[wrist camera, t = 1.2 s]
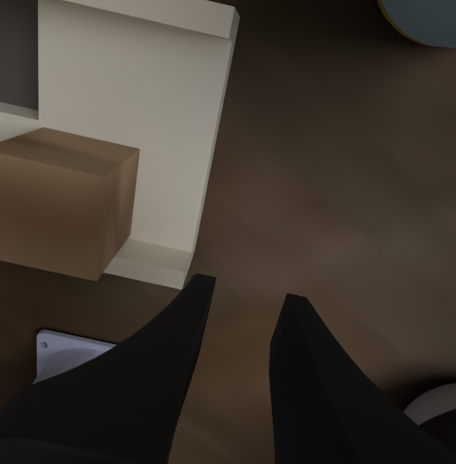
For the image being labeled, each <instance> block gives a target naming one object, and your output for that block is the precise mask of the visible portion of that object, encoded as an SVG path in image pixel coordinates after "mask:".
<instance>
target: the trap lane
mask: <svg viewBox="0 0 456 464" xmlns="http://www.w3.org/2000/svg"><path fill="white" fill-rule="evenodd" d="M239 20H240V16H239V14H238V12H237V10H236V9H235V7H233V6H229V5H224V4H220V3H216V2H212V1H207V0H0V142H1V141H4V140H7V139H10V138H13V137H16V136H19V135H22V134H25V133H28V132H31V131H34V130H37V129H40V128H43V127H46V128H50V129H54V130H59V131H63V132H68V133H72V134H76V135H81V136H85V137H90V138H94V139H99V140H103V141H107V142H112V143H116V144H121V145H125V146H129V147H134V148H138V149H140V153H139V162H138V171H137V180H136V189H135V199H134V208H133V217H132V226H131V235H130V236H129V237H128V239H127V240H126V241H125V243H124V244H123V246H122V247H121V248H120V250H119V251H118V252H117V254H116V255H115V257H114V258H113V259H112V261H111V262H110V264H109V265H108V266H107V268H106V269H105V270H104V273H108V274H113V275H117V276H122V277H126V278H131V279H135V280H140V281H144V282H149V283H154V284H158V285H163V286H167V287H172V288H176V289H181V290H182V287H183V284H184V281H185V278H186V275H187V272H188V269H189V266H190V263H191V260H192V257H193V254H194V251H195V246H196V241H197V236H198V231H199V225H200V220H201V215H202V210H203V205H204V200H205V195H206V190H207V184H208V179H209V174H210V169H211V164H212V159H213V154H214V149H215V143H216V138H217V133H218V128H219V123H220V118H221V113H222V108H223V102H224V97H225V92H226V87H227V82H228V77H229V72H230V66H231V61H232V56H233V51H234V46H235V41H236V36H237V31H238V25H239Z"/></svg>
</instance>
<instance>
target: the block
mask: <svg viewBox="0 0 456 464" xmlns="http://www.w3.org/2000/svg"><path fill="white" fill-rule="evenodd" d="M139 153H140V149H138V148H134V147H129V146H125V145H121V144H116V143H112V142H107V141H103V140H99V139H94V138H90V137H85V136H81V135H76V134H72V133H68V132H63V131H59V130H54V129H50V128H46V127H43V128H40V129H37V130H34V131H31V132H28V133H25V134H22V135H19V136H16V137H13V138H10V139H7V140H4V141H1V142H0V260H1V261H5V262H10V263H14V264H19V265H24V266H28V267H33V268H37V269H42V270H46V271H51V272H55V273H60V274H65V275H69V276H74V277H78V278H83V279H87V280H92V281H97V280H98V279H99V277H100V276H101V275H102V273H103V272H104V270H105V269H106V268H107V266H108V265H109V264H110V262H111V261H112V259H113V258H114V257H115V255H116V254H117V252H118V251H119V250H120V248H121V247H122V246H123V244H124V243H125V241H126V240H127V239H128V237H129V236H130V235H131V226H132V217H133V208H134V199H135V189H136V180H137V171H138V162H139Z"/></svg>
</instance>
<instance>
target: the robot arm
mask: <svg viewBox="0 0 456 464" xmlns="http://www.w3.org/2000/svg"><path fill="white" fill-rule="evenodd" d="M215 281H216V277H212V276H207V275H203V274H198V273H197V274H195V275H193V276H192V278H191V280H190V281H189V282H188V284H187V285H186V286H185V288H184V289H183V290H182V291H181V292H180V293H179V294H178V296H177V297H176V298H175V299H174V300H173V301H172V302H171V303H170V304H169V305H168V306H167V307H166V308H165V309H164V310H162V311H161V312H160V313H159V314H158V315H157V316H156V317H155V318H153V319H152V320H151V321H150V322H149V323H147V324H146V325H145V326H144V327H142V328H141V329H140V330H138V331H137V332H136V333H134V334H133V335H131V336H130V337H129V338H127V339H126V340H124V341H122V342H121V343H119V344H118V345H115V344H110V343H105V342H101V341H96V340H92V339H87V338H82V337H78V336H73V335H68V334H64V333H59V332H55V331H50V330H41V331H40V332H39V333H38V335H37V378H36V379H35V381H34V382H33V384H31V385H28V386H26V387H23V388H22V389H21V390H20V391H19V392H18V393H17V394H16V395H15V397H14V398H13V399H12V400H11V401H10V402H9V403H8V404H7V405H6V406H5V407H4V408H3V410H2V411H1V412H0V464H167V463H168V459H169V454H170V450H171V446H172V441H173V437H174V433H175V429H176V426H177V422H178V419H179V416H180V412H181V409H182V406H183V403H184V400H185V397H186V394H187V391H188V388H189V384H190V381H191V378H192V375H193V372H194V369H195V366H196V363H197V359H198V356H199V352H200V347H201V343H202V339H203V335H204V330H205V326H206V322H207V317H208V313H209V309H210V304H211V300H212V296H213V291H214V287H215ZM44 342H45V343H44ZM46 343H47V344H46ZM269 379H270V392H271V405H272V417H273V429H274V442H275V464H456V454H454V453H453V452H452V451H450V450H449V449H448V448H447V447H445V446H444V445H443V444H441V443H440V442H439V441H437V440H436V439H435V438H433V437H432V436H431V435H430V434H428V433H427V432H426V431H425V430H424V429H422V428H421V427H420V426H419V425H417V424H416V423H415V422H414V421H413V420H412V419H410V418H409V417H408V416H407V415H406V414H405V413H404V412H403V411H401V410H400V409H399V408H398V407H397V406H396V405H395V404H394V403H393V402H392V401H390V400H389V399H388V398H387V397H386V396H385V395H384V394H383V393H382V392H381V391H380V390H379V389H378V388H377V387H376V386H375V385H374V384H373V383H372V382H371V380H370V379H369V378H368V377H367V376H366V375H365V374H364V373H363V372H362V371H361V370H360V369H359V367H358V366H357V365H356V364H355V363H354V361H353V360H352V359H351V358H350V357H349V355H348V354H347V353H346V352H345V351H344V349H343V348H342V347H341V345H340V344H339V343H338V342H337V340H336V339H335V338H334V336H333V335H332V333H331V332H330V331H329V329H328V328H327V327H326V325H325V324H324V322H323V321H322V319H321V318H320V316H319V315H318V314H317V312H316V311H315V309H314V308H313V306H312V305H311V303H310V302H309V301H308V299H307V298H306V297H302V296H298V295H293V294H289V293H287V295H286V298H285V301H284V304H283V307H282V310H281V313H280V316H279V319H278V322H277V325H276V328H275V331H274V334H273V337H272V340H271V343H270V361H269Z"/></svg>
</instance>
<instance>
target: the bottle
mask: <svg viewBox="0 0 456 464" xmlns="http://www.w3.org/2000/svg"><path fill="white" fill-rule="evenodd" d="M377 1H378V4H379V6H380V9H381V11H382V13H383V15H384V16H385V18H386V19H387V20H388V21H389V22H390V23H391V25H392V26H393V27H394V28H395V29H396V30H397V31H398V32H399V33H400V34H402V35H403V36H405V37H407V38H409V39H411V40H413V41H415V42H417V43H419V44H422V45H426V46H435V47H448V48H456V0H377Z"/></svg>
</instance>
